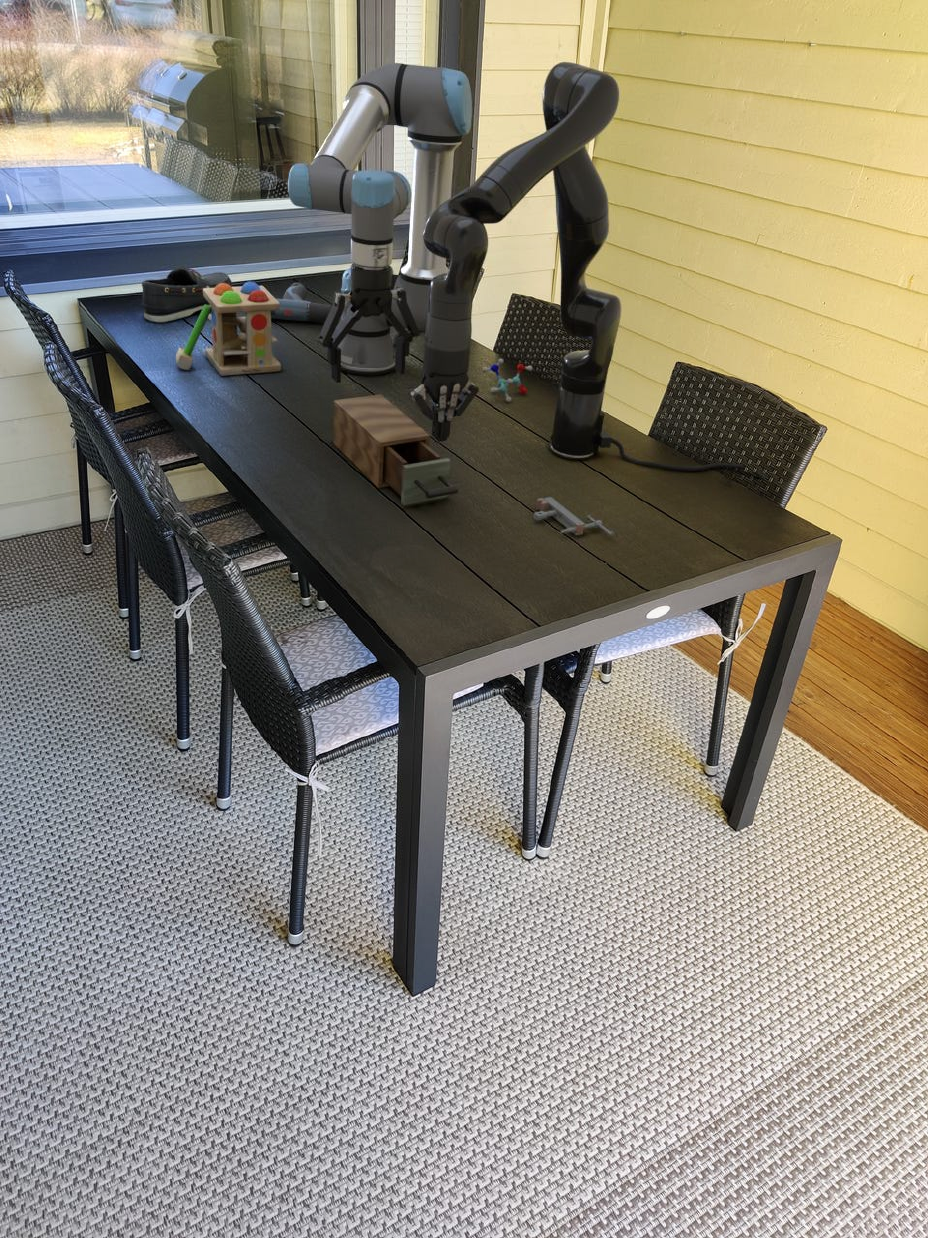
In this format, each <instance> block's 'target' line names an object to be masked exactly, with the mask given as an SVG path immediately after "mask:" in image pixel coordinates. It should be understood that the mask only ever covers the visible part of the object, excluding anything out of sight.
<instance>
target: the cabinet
mask: <svg viewBox="0 0 928 1238" xmlns="http://www.w3.org/2000/svg"><path fill="white" fill-rule="evenodd" d="M332 429H333V430H332V431H333V432H332V433H333V436H332V437H333V439H332V440H333V445H334V446H335V447H336V448H337V449H338V450H340V451H341V453H343V455H344V456H345V457H346V458H348V459H349V460H350V461H351V463H353V464H354V465H355V467H357V469H358V470H359V471H360V472H362V474H364V475H365V476H366V477H367V478H368V480H369V481H371V482H372V483H373V484H374V485H375V486H376V487H377V488H378V489H380V488H381V489H382V488H387V487H391V486H390V485H389V484H388V483H387V482H386V481H385V480H384V479H383V457H384V446H388V445H395V444H401V443H408V442H414V441H421V440H422V441H423V442H424V443H425V444H426V445H427V446H429V447H430V438H431V437H430V436H431V435H430V434H429V433H428V432H427V431H425V430H424V429H423V428H422V427H420V426H419V425H418V424H417V423H416V422H415V421H414V420H412V419H411V418H410V417H409V416H407V415H406V414H405V413H404V412H403V411H401V410H400V408H399V407H397V406H396V405H394V404H393V403H392V402H391V401H389V400H388V399H387V398H386V397H384V396H383V395H382V394H373V395H365V396H357V397H349V398H341V399H333V428H332Z"/></svg>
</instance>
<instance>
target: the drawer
mask: <svg viewBox="0 0 928 1238" xmlns="http://www.w3.org/2000/svg"><path fill="white" fill-rule="evenodd" d="M451 462H452V460H451V459H450V458H448V457H445V458H441V455H439V454H438V453H437V452H436V451H435V450H433V449H432V448H431V446H430V445H429V446H427V445H426V444H425V443H424V442H423V441H422V440H421V441H414V442H408V443H401V444H395V445H388V446H384V457H383V479H384V480H385V481H386V482H387V483H388V484H389V485H390V486H389V487H391V488H392V489H393V490H394V491H395V492H396V493H397V494H398V496H400V497H401V498H400V503H401V504H402V505H403V506H406V505H413V504H417V503H422V502H423V503H424V502H428V501H434V500H438V499H443V498H448V497H449V495H456V494H458V492H459V489H458V486H457V485H456V484H454V485H452V484H451V483H450V475H451Z"/></svg>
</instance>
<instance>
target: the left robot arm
mask: <svg viewBox="0 0 928 1238" xmlns="http://www.w3.org/2000/svg"><path fill="white" fill-rule="evenodd" d="M470 84H471V83H470V81H469V78H468V76H467V75H466V74H465V73H464V72H463V71H461V70H457V69H451V68H447V67H440V66H439V67H438V66H429V65H427V66H426V65H417V64H406V63H401V62H392V63H391V62H390V63H386V64H383V65H379V66H378V67H375V68H373V69H371V70H369V71H368V72H366V73H364V74H363V75H361V77H359V78H358V79H357V80H356V81H355V82H354V83H353V84H352V85H351V87H350V88H349V89H348V91H347V93H346V94H345V96H344V99H343V109H342V111H341V113H340V114H339V117H338V118H337V119H336V121H335V123H334V125H333V127H332V128H331V130H330V132H329V133H328V135H327V136H326V137H325V140H324V142H323V144H322V145H321V147H320V148H319V150H318V152H317V153H316V155H315V157H314V158H313V159H312V161H311V163H310V164H308V163H307V162H304V163H294V164H293V165H292V166H291V168H290V170H289V174H288V179H287V190H288V191H287V192H288V198H289V200H290V202H291V203H292V204H293V206H296V207H299V208H304V209H309V210H310V211H312V210H316V211H324V212H333V213H340V214H347V215H351V218H350V219H351V220H350V228H351V229H350V231H351V232H350V262H351V265H350V267H349V268H346V270H345V271H344V272H343V274H342V281H341V287H340V292H339V291H335V292H334V294H333V301H332V305H331V306H332V308H331V310H330V312H329V314H328V316H327V319H326V321H324V323H323V325H322V327H321V330H320V332H319V334H318V336H317V342H318V344H320V345H321V346H322V347H324V348H326V350H327V351H326V355H327V356H326V357H327V358H326V361H327V363H328V364H329V365H330V366H331V369H330V370H331V371H330V372H331V377H330V378H331V379H332V380H333V381H334V382H335V383H336V384H341V383H342V372H344V373H347V374H352V375H356V376H380V375H381V376H382V375H386V374H389V373H391V372H393V371H396V372H397V373H398V374H399V375H401V376H403V375H405V374H406V373H405V372H406V357H409V355H410V345H411V344H410V343H413V340H414V338H417V337H419V336H420V332H424V333H425V332H426V323H427V318H428V309H429V293H430V284H431V281H432V279H433V278H434V277H435V276H436V275H439V274H443V273H448V271H449V267H448V266H447V265H446V263H447V262H446V261H447V259H445V258H442V257H439V256H437V255H435V254H433V253H431V252H430V251H429V250H428V249H427V248H426V246H425V244H424V240H423V231H424V227H425V224H426V222H427V220H428V218H429V216H430V215H431V214H432V213H433V211H434V210H435V209H436V208H438V207H439V206H440V205H441V204H443V203H444V202H446V201H447V200H449V199H450V198H452V197H451V195H452V182H453V170H454V169H453V168H454V155H455V151H456V149H457V148H458V147H460V145H461V144H462V142H463V136H465V135H468V134H469V133H470V131H471V127H472V119H473V102H472V101H473V99H472V91H471V90H472V89H471V85H470ZM386 126H395V127H402V128H407V139H408V141H409V142H410V143H411V145H412V147H413V158H412V159H413V161H412V175H411V176H412V179H411V184H410V182H409V180H408V179H407V177H406V176H405V175H403V174H402V173H401V172H398V171H396V170H389V171H388V170H386V171H383V170H377V169H364V170H356V169H357V168H358V165H359V164H360V161H362V158H363V157H364V154H365V153H366V151H367V150H368V148H369V146H370V144H371V142H372V141H373V139H374V137H375V135H376V133H378V132H380V131H381V130H383V129H384V128H385V127H386ZM409 205H410V213H409V214H410V215H409V233H408V235H409V236H408V255H407V262H406V263H405V264H404V265H403V266H402V267H401V268H400V274H394V273H395V272H394V268H393V267H392V266H391V265H392V263H393V250H394V249H393V247H394V225H395V224H394V222H395V219H397V218H398V217H399V216H401V215H402V214H404V212H405V211H406V210H407V208H408V206H409ZM391 327H392V328H393V329H394V330H395V331H396V334H395V335H394V336H393V337H391V336H392V335H391Z"/></svg>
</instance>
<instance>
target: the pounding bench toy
mask: <svg viewBox="0 0 928 1238" xmlns="http://www.w3.org/2000/svg"><path fill="white" fill-rule="evenodd" d="M203 296H204V297H205V299H206V300H207V301H208V302H209V304H210V305H211V307H210V306H208V305H204V307H203V309H201V312H200V313H199V316H198V318H197V320H196V322H195V324H194V327H193V329H192V331H191V332H190V333H191V334H190V336H189V338H188V340H187V343H186V344H185V347H184V348H182V347H180V346H179V347H178V349H177V351H176V354H175V357H174V358H175V362H176V365H177V366H178V368H179V369H182V370H185V371H189V370H190V369H191V367H192V365H193V363H194V356H193V351H194V348H195V347H196V345H197V342H198V340H199V337H200V336H201V333H202V332H203V329H204V326H205V325H206V322H207V320H209V321H210V322H211V336H212V337H211V338H212V339H211V340H212V348H205V349H204V352H205V353H204V355H205V357H206V359H208V361H209V363H210V364H211V365H212V366H213V367H214V369H215V370H216V371H217V372H218V374H219V375H220V376H222V377H223V376H234V375H235V376H236V375H246V374H247V375H250V374H262V373H275V372H281V370H282V364H281V363H280V362H279V360H278V359H277V358H276V357H275V356H274V355H273V348H272V347H273V345H272V344H276V343H278V342H279V341H278V339H277V338H276V337H275V336H274V334H272V318H271V310H280V303H279V302H278V301H277V300H276V299H277V298H276V297H274V296H273V295H272V294H271V293H270V292H269V290H268V289H267V288H266V287H264V285H259V284H257V283H256V282H255V281H247V282H245V283H244V284H243V285H242V286H233V287H231V286H230V285H228V284H226V283H221V284H218V285H217V286H216V287H215V288H204V289H203ZM238 313H244V314H245V315H244V316H238ZM238 329H239V331H240V333H239V334H238Z"/></svg>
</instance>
